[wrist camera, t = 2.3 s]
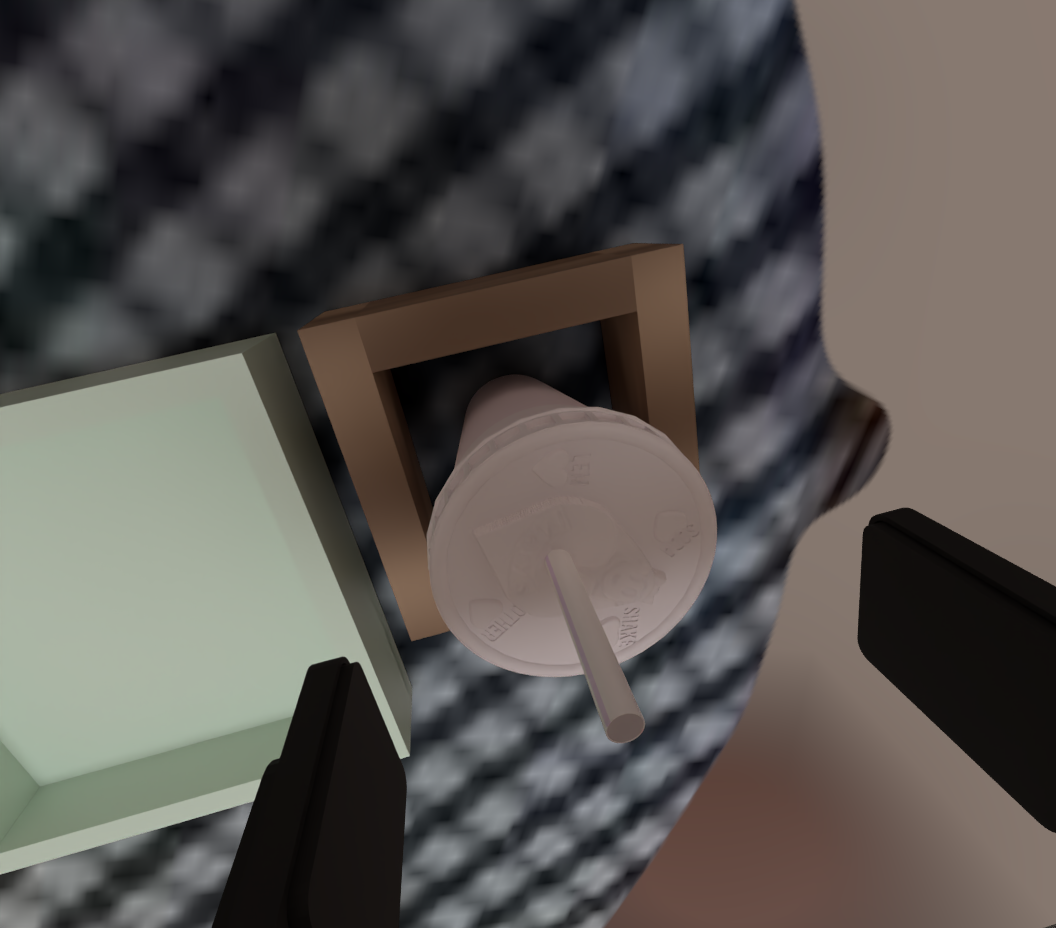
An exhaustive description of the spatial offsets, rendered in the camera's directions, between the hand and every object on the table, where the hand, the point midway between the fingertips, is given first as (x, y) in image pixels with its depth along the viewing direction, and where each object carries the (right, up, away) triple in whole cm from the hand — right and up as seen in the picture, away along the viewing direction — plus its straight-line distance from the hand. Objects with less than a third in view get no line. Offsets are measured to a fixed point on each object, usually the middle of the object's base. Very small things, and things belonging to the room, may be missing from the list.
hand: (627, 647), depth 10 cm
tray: (-16, -2, +11) cm, 19 cm away
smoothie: (-2, +5, +11) cm, 12 cm away
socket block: (-2, +5, +10) cm, 12 cm away
